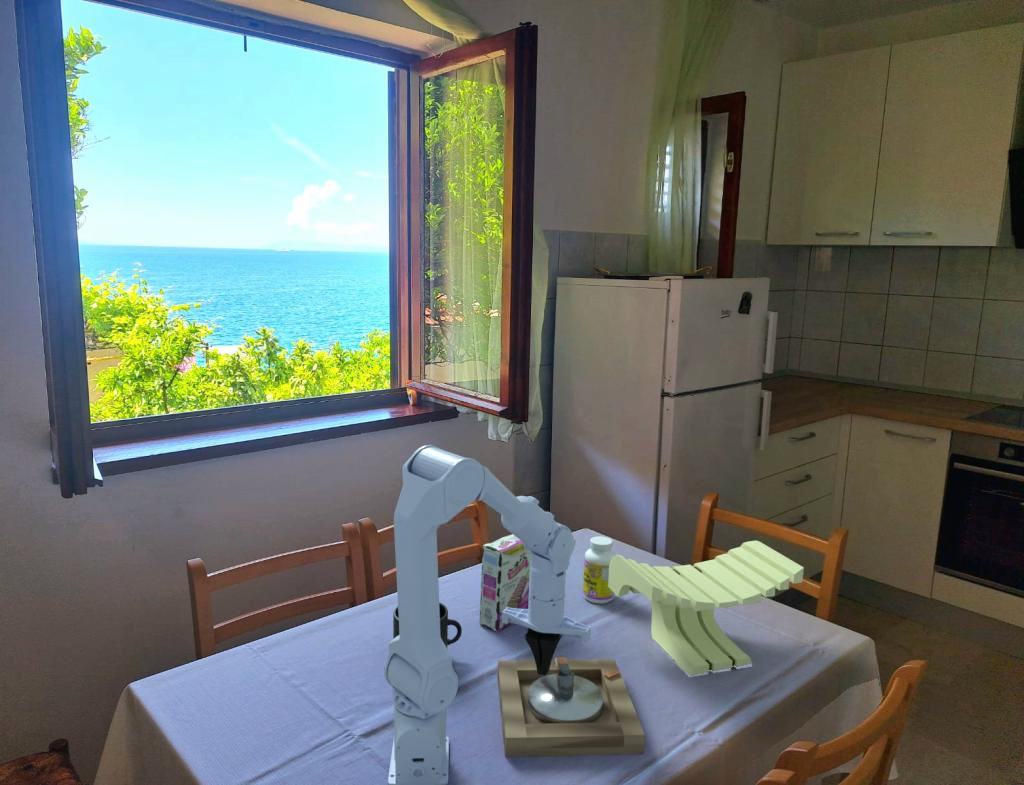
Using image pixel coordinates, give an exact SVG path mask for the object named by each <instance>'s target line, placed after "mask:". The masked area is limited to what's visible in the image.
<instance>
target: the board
mask: <svg viewBox="0 0 1024 785" xmlns="http://www.w3.org/2000/svg"><path fill="white" fill-rule="evenodd" d="M557 658H558V657H554V659H552V661H551V664H550V669H549V671H548V673H547V674H546V675H545V676H547V675H552V674H557ZM567 662H568V666H569V669H570V671H571V672H572V673H574V675H576V676H579V677H582V678H585V679H587V680H589V681H591V682H592V683H594V684H595V685H596V686H597V687H598V688H599V689H600V691H601V693H602V696H603V706H602V713H601V715H600V716H599V718H598V719H596V720H595V721H594V722H592V723H553V724H547V723H545V722H543V721H541V720H540V719H538V718H537V717H536V716H534V715H533V713H532V712H531V711H530V709H529V706H528V692H529V688H530V686H531V685H532V683H533V682H535V681H536V680H537V679H539V678H541V677H544V675H541V674H538V673H537V667H536V663H535V659H524V660H523V659H519V660H517V659H516V660H514V659H513V660H512V659H511V660H506V659H505V660H504V659H503V660H501V659H500V660H499V659H498V660H497V675H496V676H497V687H498V697H499V706H500V715H501V727H502V729H501V730H502V736H503V738H502V739H503V746H504V747H503V748H504V756H505V758H512V757H513V758H514V757H515V758H519V757H523V758H524V757H525V758H526V757H561V756H564V757H565V756H566V757H567V756H568V757H569V756H598V755H599V756H603V755H604V756H605V755H607V756H608V755H612V756H613V755H639V754H638V753H644V752H645V742H646V740H645V739H646V734H645V732H644V728H643V727H642V724H641V721H640V719H639V716H638V714H637V712H636V709H635V706H634V704H633V701H632V698H631V697H630V693H629V691H628V689H627V686H626V684H625V681H624V679H623V676H622V673H621V671H620V669H619V665H618V664H617V661H616V658H605V659H604V658H601V659H599V658H593V659H592V658H591V659H590V658H589V659H585V658H583V659H582V658H581V659H567Z"/></svg>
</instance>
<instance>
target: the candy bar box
mask: <svg viewBox="0 0 1024 785" xmlns="http://www.w3.org/2000/svg"><path fill="white" fill-rule="evenodd" d="M530 552H531V551H530V550H528V549H525V548H524V546H523V542H522V541H521V540H520V539H518V538H517V537H516V536H515V535H513V534H512V533H511V534H508V535H506V536H503V537H501V538H500V537H499V538H498V539H496V540H493V541H490V542H488V543H485V544H483V545H482V558H481V579H480V580H481V584H480V606H479V607H480V608H479V624H480V625H481V626H482V627H484V628H487V629H488V630H491V631H493V632H495V633H499V632H501V631H502V630H504V629H505V628H508V627H509V626H511V625H513V624H514V623H510V622H509V623H508V624H505V623H502V612H503V611H504V610H505V609H506V607H510V608H517V609H528V604H529V578H530ZM532 553H533V552H532Z"/></svg>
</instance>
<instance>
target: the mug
mask: <svg viewBox="0 0 1024 785" xmlns="http://www.w3.org/2000/svg"><path fill="white" fill-rule="evenodd" d="M439 610H440V636H441V639H442V641H443V642H444V644H445V646H446V648H447V649H448V646H450V645H452V644H454V643H456V642H458V641H459V640H460V638H461V636H462V632H463V629H462V625H461V624H460V622H458V621H457V620H456V619H450V618H449V611H448V607H447V606H446V605H445V604H443V603H442V602H440V601H439ZM392 616H393V621H392V622H393V623H392V624H393V629H392V630H393V631H392V632H393V634H392V635H393V636H392V640H393V639H394V638H395V637H397V636H398V635H400V634H399V614H398V605H397V606H396V607H395V609H394V610H393V615H392ZM449 626H454V627H455V628H456V634H455V636H454V637H453V638H449V637H448V636H449V634H448V631H449V629H448V628H449Z"/></svg>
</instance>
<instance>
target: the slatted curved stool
mask: <svg viewBox="0 0 1024 785" xmlns="http://www.w3.org/2000/svg"><path fill="white" fill-rule="evenodd" d="M804 569H805V567H804V566H802V565H800V564H798V563H797V562H795V561H794V560H791V559H790V558H789V557H786V556H785V555H783V554H782V553H780V552H778V551H776V550H775V549H773V548H771V547H770V546H768V545H766V544H764V543H763V542H761V541H759V540H751V541H750V540H749V541H745V542H742V543H741V545H740V546H739V547H738V546H737V547H735V548H731V549H729V550H728V551H727V553H723V554H719V555H715V557H714V559H710V560H705V561H700V562H696V563H694V564H693V565H691V564H685V565H673V566H672V567H670V566H657V565H652V566H650V565H649V564H648V563H643V562H639V563H638V561H636V560H634V559H630V558H627V559H626V558H625V557H624V556H623V555H620V554H616V555H614V556H613V557H612V558H611V560H610V564H609V579H608V587H609V588H610V589H611V590H612V591H613V592H614V595H616V597H618V598H620V597H623V596H626V595H628V594H629V592H631V593H632V594H640V593H641V594H642V595H643V596H644V597H645V598H646V599H648V601H650V604H651V606H650V607H651V626H650V627H651V629H650V630H651V633H650V634H651V637H652V640H653V639H654V640H655V641H656V642H657V643H658V644H659V645H660V646H661V647H662V648H663V649H664V650H665V651H666V652H667V653H669V655H670V656H671V657H672V659H674V660H675V661H676V663H677V664H678V665H679V666H680V667H681V668H682V669H683V670H684V671H685V672H686V673H688V674H689V675H690V676H693V675H698V674H704V673H710V672H709V670H712V671H718V670H724V669H729V668H732V666H734V665H735V666H736V667H739V666H744V665H748V664H753V663H752V658H751V657H750V656H749V655H747V654H746V653H745V652H744V651H743V650H742V649H741V648H740V647H738V645H737V644H736V643H734V642H733V641H732V640H731V639H730V638H729V637H728V636H727V635H726V633H724V631H723V630H722V629H721V627H720V626H719V625H718V623H717V621H716V619H715V614H714V612H715V611H714V610H715V607H716V608H718V609H724V608H731V607H738V605H739V604H740V605H741V606H746V605H752V604H753V605H755V604H761V602H762V601H761V600H762V596H763V597H765V598H768V597H775V596H776V589H777V590H778V591H785V590H789V588H790V583H792V584H793V585H794V584H800V583H801V584H802V583H803V579H804ZM672 659H671V660H672ZM676 663H675V664H676ZM677 664H676V665H677ZM678 665H677V666H678ZM679 666H678V667H679ZM680 667H679V668H680ZM681 668H680V669H681ZM682 669H681V670H682ZM732 669H733V668H732Z"/></svg>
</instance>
